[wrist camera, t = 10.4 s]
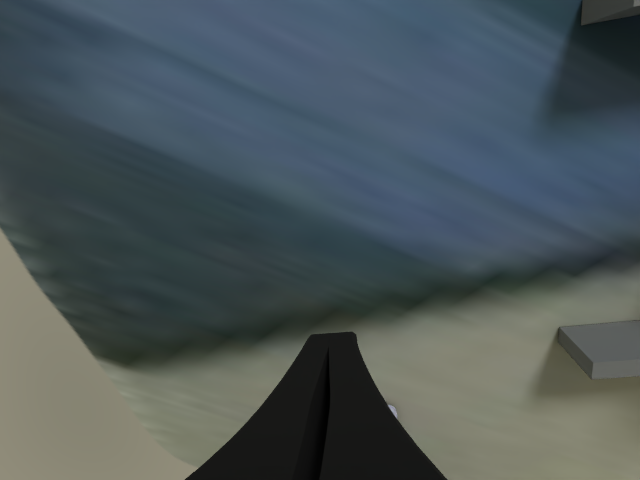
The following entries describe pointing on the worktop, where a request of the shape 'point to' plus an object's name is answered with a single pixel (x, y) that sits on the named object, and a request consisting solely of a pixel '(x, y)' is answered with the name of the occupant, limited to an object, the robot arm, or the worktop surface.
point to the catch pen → (619, 337)
